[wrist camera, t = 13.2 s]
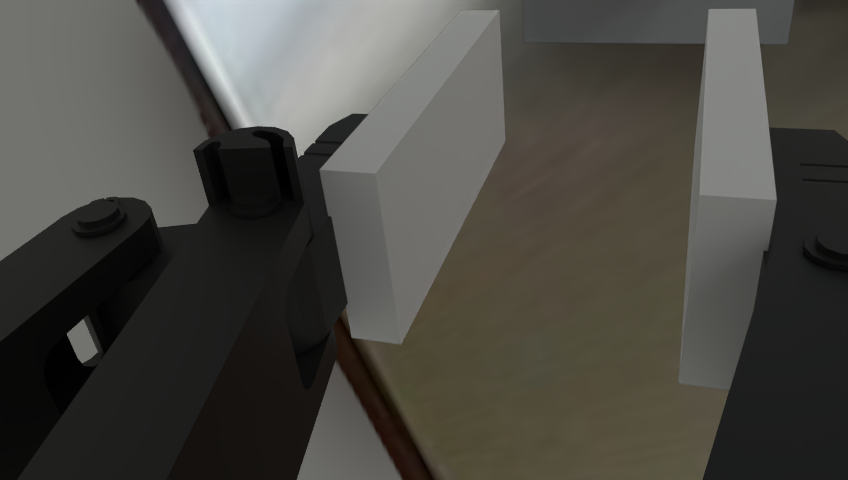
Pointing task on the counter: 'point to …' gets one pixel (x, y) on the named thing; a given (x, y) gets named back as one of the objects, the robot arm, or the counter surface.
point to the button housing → (644, 20)
